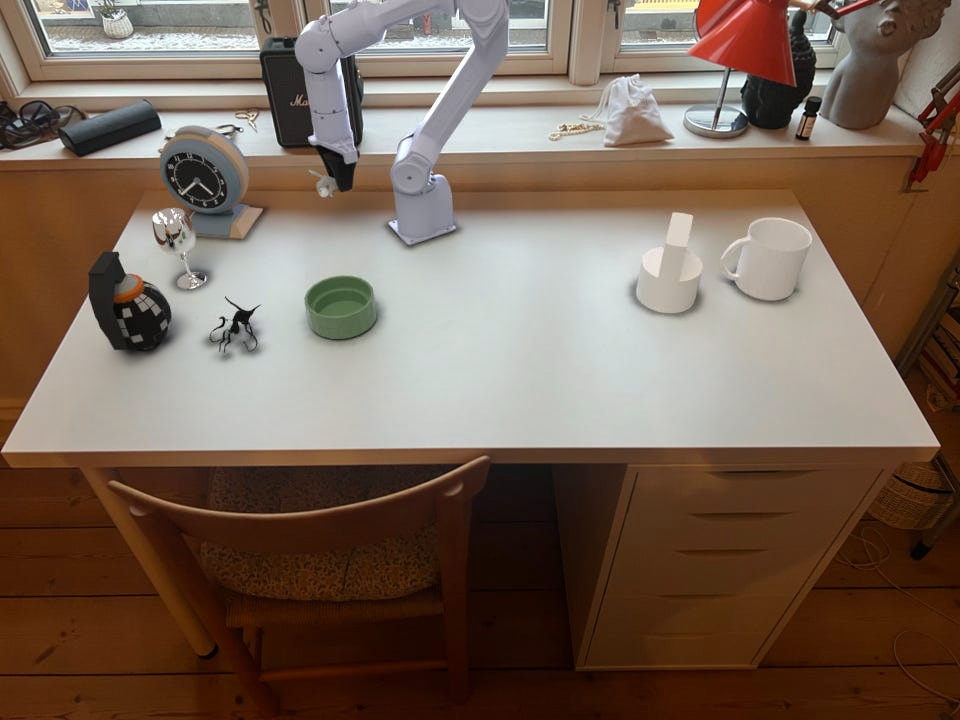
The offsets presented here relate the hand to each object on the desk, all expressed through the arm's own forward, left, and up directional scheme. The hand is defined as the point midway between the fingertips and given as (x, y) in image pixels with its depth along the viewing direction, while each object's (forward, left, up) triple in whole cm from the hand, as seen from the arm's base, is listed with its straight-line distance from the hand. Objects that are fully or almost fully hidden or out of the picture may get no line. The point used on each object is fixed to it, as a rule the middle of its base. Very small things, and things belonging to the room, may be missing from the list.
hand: (341, 185), depth 118 cm
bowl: (+11, +23, -8) cm, 27 cm away
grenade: (+38, +13, -9) cm, 41 cm away
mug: (-48, +49, -9) cm, 69 cm away
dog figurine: (+1, 0, -2) cm, 2 cm away
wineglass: (+28, +1, -9) cm, 29 cm away
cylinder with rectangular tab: (-34, +44, -9) cm, 56 cm away
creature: (+26, +19, -9) cm, 33 cm away
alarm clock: (+19, -14, -9) cm, 25 cm away
